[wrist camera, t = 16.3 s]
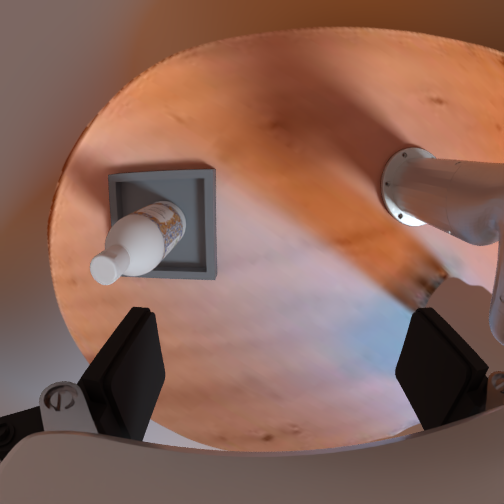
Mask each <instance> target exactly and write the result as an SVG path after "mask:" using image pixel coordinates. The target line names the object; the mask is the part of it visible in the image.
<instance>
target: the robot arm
mask: <svg viewBox="0 0 504 504" xmlns="http://www.w3.org/2000/svg"><path fill="white" fill-rule="evenodd" d="M402 154H403V156H402ZM385 183H387V184H386V185H385ZM381 194H382V198H383V202H384V204H385V207H386V208H387V210H388V212H389V213H390V214H391V215H392V216H393V217H394V218H395V219H396V220H397V221H399V222H401V223H403V224H405V225H408V226H422V225H425V224H429V225H431V226H433V227H435V228H438V229H440V230H442V231H444V232H446V233H448V234H450V235H453V236H455V237H457V238H459V239H461V240H463V241H465V242H467V243H469V244H472V245H477V246H485V245H490V244H493V243H495V242H497V241H499V246H498V261H497V268H496V275H495V281H494V287H493V293H492V299H491V305H490V311H489V324H490V329H491V332H492V334H493V335H494V337H495V338H496V339H497V340H498V341H499V342H500V343H501V344H502V345H504V163H487V162H476V161H463V160H451V159H436V157H435V156H433V155H432V154H431V153H430V152H428V151H426V150H424V149H421V148H406V149H402V150H400V151H398V152H397V153H395V154H394V155H393V156H392V157H391V158H390V159H389V161H388V162H387V164H386V166H385V168H384V170H383V174H382V178H381ZM398 215H399V216H398ZM488 368H489V367H488V366H487V364H486V363H485V362H484V361H483V360H482V359H481V358H480V357H479V356H478V354H477V353H476V352H475V351H474V350H473V349H472V348H471V347H470V346H469V345H468V344H467V343H466V342H465V340H464V339H462V337H461V336H460V335H459V334H458V333H457V332H456V331H455V330H454V329H453V328H452V327H451V326H450V325H449V324H448V323H447V322H446V321H445V320H444V319H443V318H442V317H441V316H440V315H439V314H438V313H437V312H436V311H435V310H434V309H433V308H418V309H417V310H416V312H414V313H413V314H412V317H411V321H410V324H409V328H408V331H407V335H406V338H405V341H404V345H403V348H402V351H401V354H400V357H399V360H398V363H397V366H396V369H395V375H396V378H397V380H398V382H399V383H400V385H401V387H402V389H403V391H404V393H405V394H406V396H407V398H408V400H409V402H410V404H411V406H412V408H413V409H414V411H415V413H416V415H417V417H418V419H419V421H420V423H421V425H422V427H423V429H424V431H421V432H418V433H414V434H409V435H405V436H401V437H396V438H392V439H387V440H382V441H376V442H371V443H365V444H358V445H352V446H344V447H336V448H327V449H317V450H303V451H282V452H239V451H218V450H205V449H195V448H186V447H177V446H169V445H162V444H155V443H149V442H143V441H142V440H143V437H144V435H145V432H146V429H147V426H148V424H149V420H150V418H151V415H152V413H153V410H154V407H155V404H156V402H157V399H158V396H159V394H160V391H161V388H162V386H163V383H164V380H165V368H164V363H163V358H162V353H161V347H160V342H159V336H158V330H157V323H156V317H155V314H154V312H150V309H149V308H142V307H133V308H131V310H130V311H129V312H128V314H127V315H126V316H125V318H124V319H123V320H122V322H121V323H120V324H119V326H118V327H117V328H116V330H115V331H114V332H113V334H112V335H111V336H110V338H109V339H108V340H107V342H106V343H105V344H104V346H103V347H102V349H101V350H100V351H99V353H98V354H97V355H96V357H95V358H94V360H93V361H92V362H91V364H90V365H89V367H88V368H87V370H86V371H85V372H84V374H83V375H82V377H81V379H80V380H79V381H78V383H77V384H75V383H72V382H67V381H62V382H56V383H54V384H51V385H50V386H48V387H47V388H45V389H44V390H43V392H42V393H41V395H40V398H39V404H40V406H37V407H34V408H31V409H28V410H24V411H21V412H17V413H14V414H10V415H7V416H3V417H0V504H504V371H495V372H492V373H491V374H490V375H489V377H488V378H487V377H486V375H485V374H486V372H487V370H488Z"/></svg>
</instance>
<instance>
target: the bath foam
mask: <svg viewBox="0 0 504 504" xmlns="http://www.w3.org/2000/svg"><path fill="white" fill-rule="evenodd" d="M185 229H186V220H185V216H184V214H183V212H182V211H181V209H180V208H179V207H178V206H176V205H175V204H173V203H171V202H168V201H159V202H155V203H153V204H150V205H148V206H146V207H144V208H142V209H139V210H137V211H135V212H133V213H131V214H129V215H127V216H125V217H123V218H121V219H120V220H118V221H117V222H116V223H115V224H114V225H113V226H112V228H111V229H110V231H109V233H108V235H107V237H106V241H105V250H104V251H102V252H101V253H99V254H98V255H96V256H95V257H94V258H93V259H92V261H91V263H90V271H91V274H92V276H93V278H94V279H95V280H96V281H97V282H98V283H100V284H102V285H110V284H112V283H113V282H115V281H116V280H117V279H118V278H119V277H120V276H121V275H122V274H123V275H127V276H140V275H143V274H146V273H148V272H150V271H151V270H153V269H154V268H155V267H157V266H158V264H159V263H160V262H161V261H162V260H163V259H164V258H165V257H166V255H167V254H168V253H169V252H170V251H171V250H172V249H173V248H174V246H175V245H176V244H177V243H178V242H179V241H180V240H181V238H182V237H183V235H184V233H185Z"/></svg>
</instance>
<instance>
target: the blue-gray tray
mask: <svg viewBox="0 0 504 504" xmlns="http://www.w3.org/2000/svg"><path fill="white" fill-rule="evenodd" d="M108 181H109V200H110V214H111V226H113V225H114V224H115V223H116V222H117V221H118V220H120V219H121V218H123V217H125V216H127V215H129V214H131V213H133V212H135V211H137V210H139V209H142V208H144V207H146V206H148V205H150V204H153V203H155V202H159V201H168V202H171V203H173V204H175V205H176V206H178V207H179V208H180V209H181V211H182V212H183V214H184V216H185V220H186V229H185V233H184V235H183V237H182V238H181V240H180V241H179V242H178V243H177V244H176V245H175V246H174V248H173V249H172V250H171V251H170V252H169V253H168V254H167V255H166V257H165V258H164V259H163V260H162V261H161V262H160V263H159V264H158V266H157V267H155V268H154V269H153V270H151V271H150V272H148V273H146V274H143V275H140V276H127V275H123V274H122V275H121V276H123V277H145V278H169V279H197V280H215V279H216V276H217V247H216V169H189V170H164V171H146V172H132V173H119V174H111V175H108Z"/></svg>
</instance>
